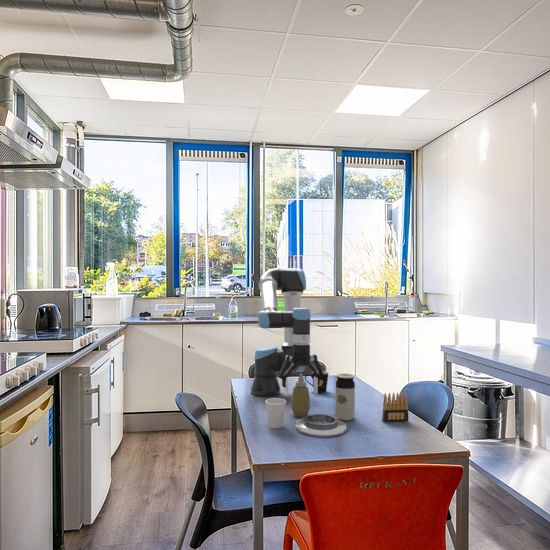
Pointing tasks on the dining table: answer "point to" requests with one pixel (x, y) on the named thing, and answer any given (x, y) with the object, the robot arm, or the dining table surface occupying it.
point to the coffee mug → (323, 382)
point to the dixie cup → (275, 412)
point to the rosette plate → (320, 432)
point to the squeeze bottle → (300, 398)
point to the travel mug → (345, 397)
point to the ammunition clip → (395, 409)
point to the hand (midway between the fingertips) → (300, 393)
